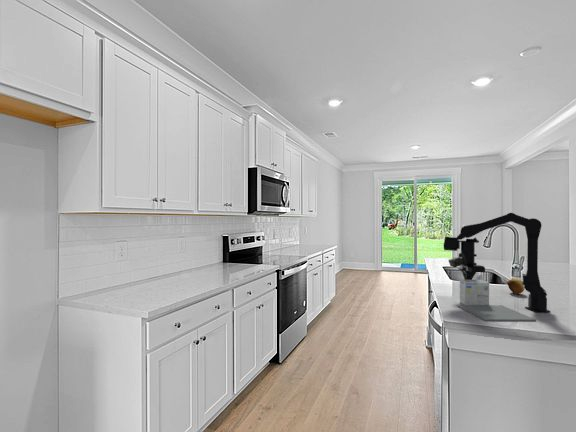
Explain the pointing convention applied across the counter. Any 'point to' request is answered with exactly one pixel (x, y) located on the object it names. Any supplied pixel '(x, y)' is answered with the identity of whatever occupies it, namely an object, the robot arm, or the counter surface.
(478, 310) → the slate mat
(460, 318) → the counter surface
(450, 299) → the counter surface
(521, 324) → the counter surface
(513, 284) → the fruit
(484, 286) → the light bulb box
